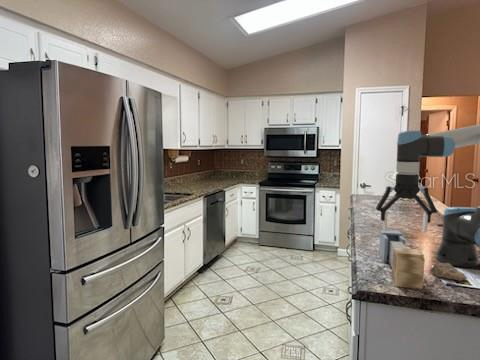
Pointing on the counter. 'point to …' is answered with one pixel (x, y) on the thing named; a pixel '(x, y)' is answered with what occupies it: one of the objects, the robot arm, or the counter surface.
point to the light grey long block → (392, 245)
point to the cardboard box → (408, 268)
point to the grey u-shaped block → (388, 242)
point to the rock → (447, 272)
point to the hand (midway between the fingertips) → (404, 230)
